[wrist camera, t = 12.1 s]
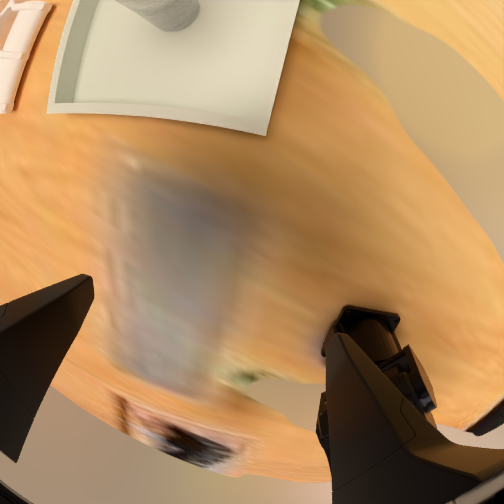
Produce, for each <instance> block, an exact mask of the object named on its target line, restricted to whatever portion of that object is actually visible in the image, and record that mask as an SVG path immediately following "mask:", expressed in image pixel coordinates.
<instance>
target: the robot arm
mask: <svg viewBox="0 0 504 504" xmlns="http://www.w3.org/2000/svg"><path fill="white" fill-rule="evenodd" d="M93 300H94V286H93V279H92V277H91V276H89V275H86V274H80V275H77V276H75V277H72V278H69V279H67V280H64V281H61V282H59V283H56V284H53V285H51V286H48V287H46V288H43V289H41V290H38V291H35V292H33V293H30V294H28V295H25V296H23V297H20V298H18V299H15V300H13V301H11V302H9V303H6V304H3V305H1V306H0V451H1V452H2V453H3V454H4V455H6V456H7V457H8V458H10V459H11V460H12V461H14V462H15V463H17V461H18V458H19V456H20V453H21V450H22V447H23V445H24V442H25V440H26V437H27V435H28V432H29V430H30V427H31V425H32V423H33V420H34V419H33V418H34V417H35V416H36V413H37V411H38V409H39V407H40V404H41V402H42V400H43V398H44V396H45V394H46V392H47V390H48V388H49V386H50V384H51V382H52V380H53V378H54V376H55V374H56V372H57V370H58V368H59V366H60V364H61V362H62V361H63V359H64V357H65V355H66V353H67V351H68V350H69V348H70V346H71V344H72V343H73V341H74V339H75V337H76V336H77V334H78V332H79V330H80V328H81V326H82V324H83V321H84V319H85V317H86V315H87V313H88V311H89V309H90V306H91V304H92V302H93ZM346 311H349V312H346ZM395 319H396V320H395ZM399 322H400V317H399V315H398V314H392V313H386V312H381V311H375V310H369V309H363V308H358V307H352V306H346V307H344V308H343V309H342V311H341V313H340V315H339V317H338V319H337V321H336V323H335V324H334V325H333V326H332V328H331V330H330V332H329V334H328V336H327V337H326V339H325V341H324V346H323V348H322V350H321V355H322V356H323V357H326V391H325V392H323V393H321V399H320V406H319V412H318V419H317V424H316V434H317V436H318V439H319V442H320V444H321V446H322V447H323V449H324V451H325V453H326V456H327V458H328V462H329V466H330V471H331V476H332V491H333V492H332V504H504V449H489V448H479V447H471V446H463V445H458V444H455V443H453V442H451V441H450V440H448V439H447V438H446V437H445V436H444V435H442V433H440V432H439V431H438V430H437V427H436V424H435V421H434V418H433V416H432V413H431V411H432V410H433V409H435V408H437V404H436V400H435V396H434V392H433V388H432V385H431V383H430V381H429V379H428V376H427V374H426V372H425V370H424V368H423V366H422V365H421V363H420V361H419V360H418V358H417V357H416V355H415V354H414V352H413V350H412V349H411V347H410V346H409V344H408V345H407V346H405V347H404V348H403V350H402V349H401V346H400V344H399V342H398V340H397V337H396V335H395V333H394V330H395V328H396V327H397V325H398V324H399ZM0 504H33V503H31V502H30V501H29V500H27V499H26V498H24V497H23V496H21V495H20V494H18V493H17V492H15V491H14V490H13V489H11V488H10V487H9V486H7V485H6V484H5V483H4V482H2V481H1V480H0Z"/></svg>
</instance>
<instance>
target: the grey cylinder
mask: <svg viewBox="0 0 504 504" xmlns="http://www.w3.org/2000/svg"><path fill="white" fill-rule="evenodd" d="M115 1H117V2H119V3H120V4H122V5H123V6H125V7H127V8H128V9H130V10H131V11H133V12H135V13H136V14H138V15H139V16H141V17H142V18H144V19H145V20H147V21H148V22H150V23H151V24H152V25H154V26H155V27H157V28H158V29H160V30H162V31H165V32H176V31H180V30H182V29H185V28H186V27H188V26H190V25H191V24H192V23H193V22H194V21H195V20H196V18H197V17H198V15H199V12H200V4H199V2H198V0H115Z"/></svg>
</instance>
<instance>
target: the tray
mask: <svg viewBox="0 0 504 504" xmlns="http://www.w3.org/2000/svg"><path fill="white" fill-rule="evenodd" d="M299 1H300V0H198V2H199V4H200V12H199V15H198V17H197V18H196V20H195V21H194V22H193V23H192V24H191V25H190V26H188V27H186V28H185V29H182V30H180V31H176V32H165V31H162V30H160V29H158V28H157V27H155V26H154V25H152V24H151V23H150V22H148V21H147V20H145V19H144V18H142V17H141V16H139V15H138V14H136V13H135V12H133V11H131V10H130V9H128V8H127V7H125V6H123V5H122V4H120V3H119V2H117V1H115V0H73V3H72V6H71V9H70V11H69V14H68V17H67V20H66V24H65V27H64V30H63V33H62V37H61V41H60V44H59V48H58V52H57V56H56V61H55V65H54V70H53V75H52V80H51V86H50V92H49V99H48V106H47V114H52V113H94V114H117V115H132V116H144V117H154V118H163V119H172V120H179V121H187V122H194V123H200V124H206V125H212V126H218V127H224V128H229V129H234V130H239V131H244V132H249V133H254V134H258V135H263V136H266V133H267V129H268V125H269V121H270V116H271V112H272V108H273V104H274V100H275V96H276V92H277V88H278V84H279V80H280V76H281V72H282V68H283V64H284V60H285V56H286V52H287V48H288V44H289V40H290V36H291V32H292V28H293V24H294V21H295V17H296V13H297V9H298V5H299Z"/></svg>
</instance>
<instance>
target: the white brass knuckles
mask: <svg viewBox="0 0 504 504" xmlns="http://www.w3.org/2000/svg"><path fill="white" fill-rule="evenodd" d="M51 8H52V3H49V2H44V1H31V0H0V113H11V111H12V109H13V107H14V99H15V96H16V92H17V89H18V86H19V82H20V79H21V76H22V73H23V70H24V67H25V65H26V62H27V60H28V59H29V56H30V51H31V49H32V46H33V44H34V42H35V39H36V37H37V35H38V33H39V30H40V28H41V26H42V24H43V22H44V20H45V18H46V16H47V14H48V12H49V11H50V10H51Z"/></svg>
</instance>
